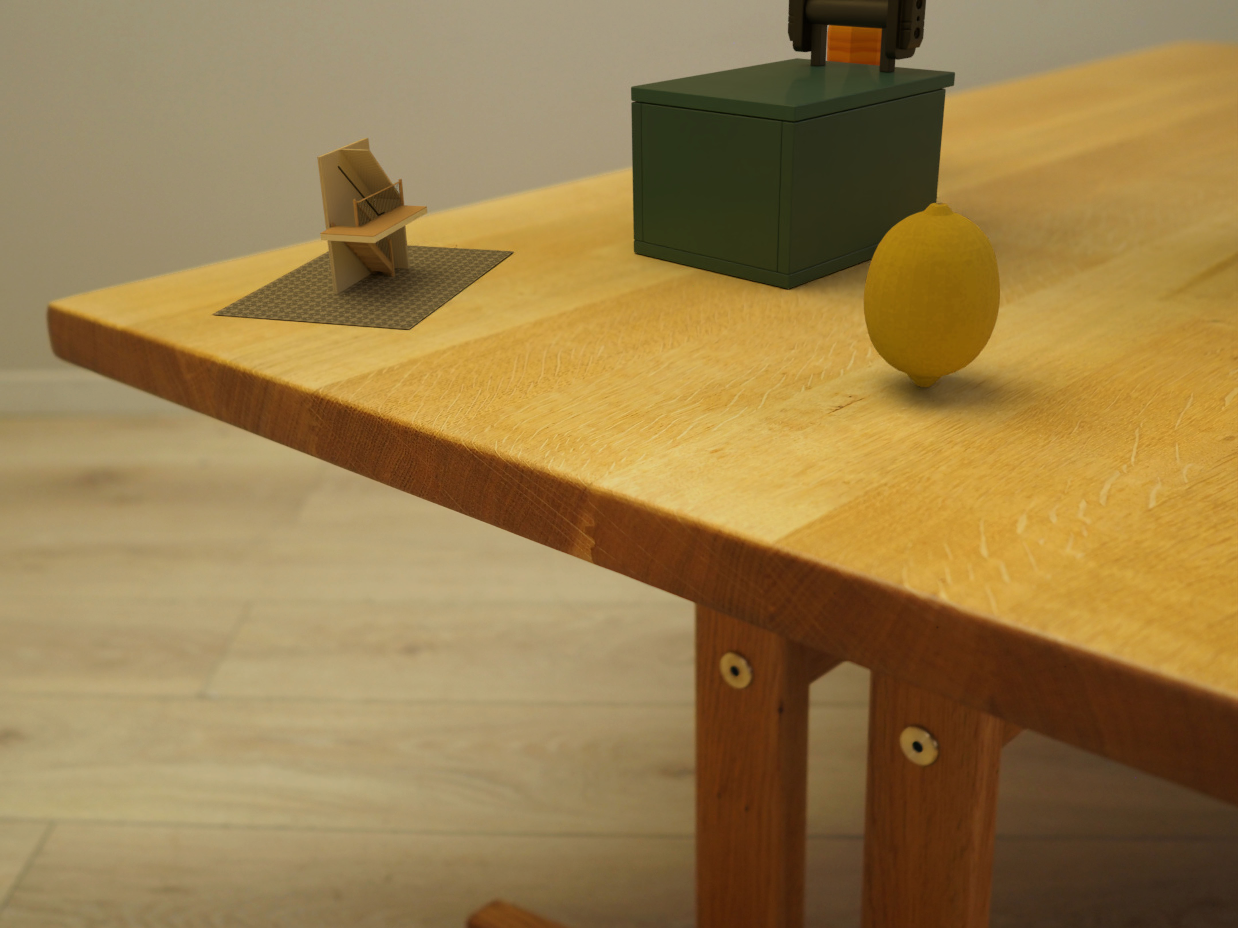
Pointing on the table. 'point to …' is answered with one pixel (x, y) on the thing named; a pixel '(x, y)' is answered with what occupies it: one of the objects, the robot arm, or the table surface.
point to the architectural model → (366, 256)
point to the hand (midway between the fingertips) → (852, 53)
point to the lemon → (932, 294)
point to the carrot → (854, 45)
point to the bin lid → (803, 75)
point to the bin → (780, 185)
